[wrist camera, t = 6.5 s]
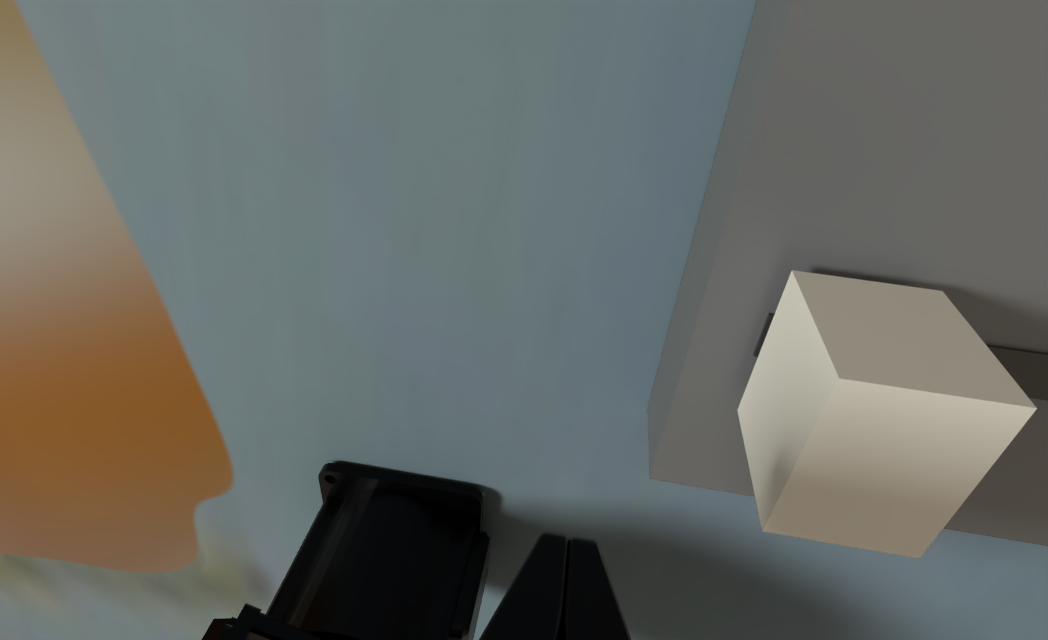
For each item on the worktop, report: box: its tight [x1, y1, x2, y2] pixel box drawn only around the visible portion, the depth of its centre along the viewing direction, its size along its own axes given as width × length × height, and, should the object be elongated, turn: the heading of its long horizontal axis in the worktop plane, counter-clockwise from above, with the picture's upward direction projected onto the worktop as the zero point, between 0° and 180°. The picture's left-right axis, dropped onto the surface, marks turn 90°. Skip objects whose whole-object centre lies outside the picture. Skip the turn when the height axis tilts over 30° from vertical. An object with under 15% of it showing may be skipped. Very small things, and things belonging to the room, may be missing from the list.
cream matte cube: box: [737, 270, 1037, 559], centre depth 12 cm, size 3×4×4 cm
